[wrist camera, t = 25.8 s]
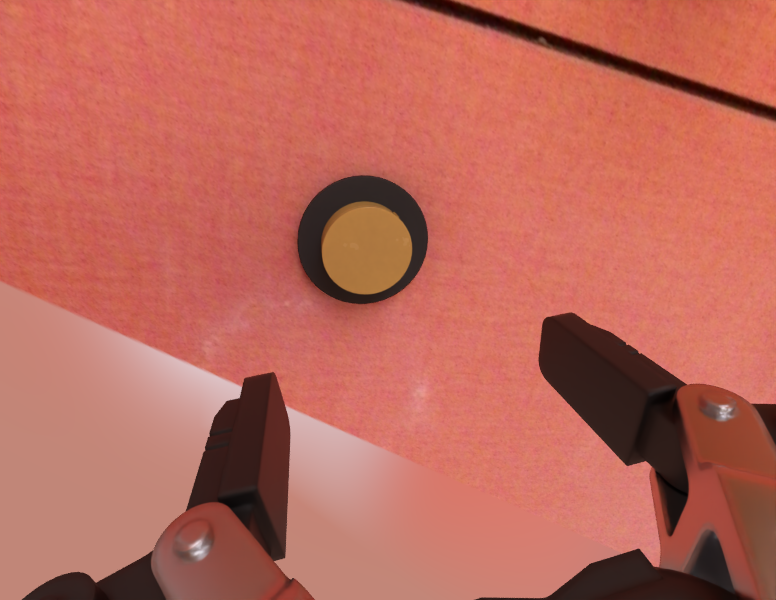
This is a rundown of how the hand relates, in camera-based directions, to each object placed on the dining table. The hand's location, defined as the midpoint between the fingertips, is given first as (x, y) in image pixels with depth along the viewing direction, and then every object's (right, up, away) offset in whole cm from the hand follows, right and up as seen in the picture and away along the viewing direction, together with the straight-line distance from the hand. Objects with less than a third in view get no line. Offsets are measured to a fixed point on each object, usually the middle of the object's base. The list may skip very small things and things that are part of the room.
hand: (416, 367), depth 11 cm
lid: (-2, +5, +13) cm, 14 cm away
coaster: (-3, +6, +15) cm, 16 cm away
